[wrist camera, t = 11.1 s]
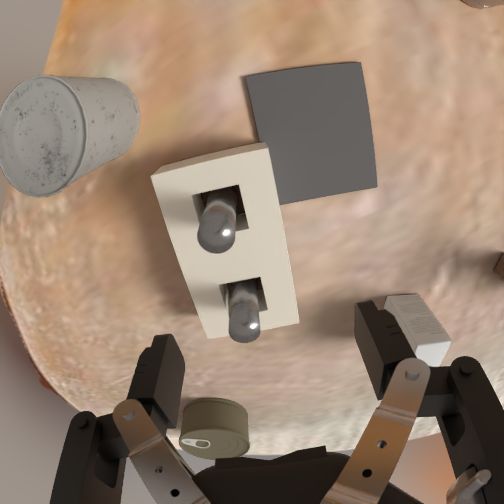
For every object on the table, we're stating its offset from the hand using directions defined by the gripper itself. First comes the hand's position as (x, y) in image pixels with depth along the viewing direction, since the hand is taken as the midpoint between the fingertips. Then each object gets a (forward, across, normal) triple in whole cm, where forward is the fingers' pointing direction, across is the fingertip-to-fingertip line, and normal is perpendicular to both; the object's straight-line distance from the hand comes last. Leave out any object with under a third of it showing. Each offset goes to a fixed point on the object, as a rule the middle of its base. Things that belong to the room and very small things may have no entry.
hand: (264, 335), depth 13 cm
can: (+22, +14, +39) cm, 47 cm away
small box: (+23, -17, +22) cm, 36 cm away
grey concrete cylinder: (+23, +14, -11) cm, 29 cm away
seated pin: (+22, +3, +11) cm, 25 cm away
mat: (+23, -8, -4) cm, 24 cm away
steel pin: (+22, +3, +1) cm, 23 cm away
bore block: (+22, +3, +6) cm, 23 cm away
